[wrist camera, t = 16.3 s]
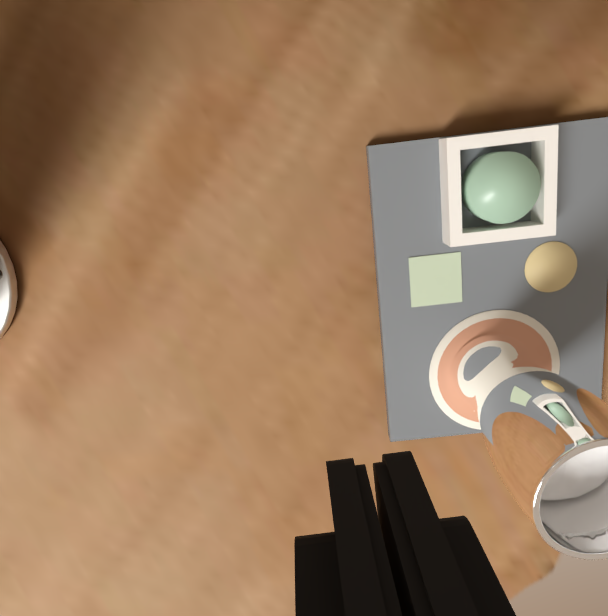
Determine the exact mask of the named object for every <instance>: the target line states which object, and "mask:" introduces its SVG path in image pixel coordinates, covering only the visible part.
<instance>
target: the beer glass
mask: <svg viewBox="0 0 608 616" xmlns="http://www.w3.org/2000/svg"><path fill="white" fill-rule="evenodd" d="M451 380H452V385H453V388H454V390H455V392H456V394H457V395H458V396H459V398H460V399H461V400H462V401H463V402H464V403H466V404H467V405H468V406H470V407H471V408H472V409H473V410H474V411H475V412H476V414H477V417H478V420H479V424H480V427H481V431H482V434H483V438H484V441H485V444H486V447H487V450H488V452H489V455H490V458H491V460H492V463H493V465H494V467H495V469H496V471H497V472H498V474H499V476H500V478H501V480H502V482H503V483H504V485H505V486H506V488H507V489H508V491H509V492H510V494H511V495H512V497H513V498H514V500H515V501H516V503H517V504H518V505H519V507H520V508H521V509H522V511H523V512H524V513H525V515H526V516H527V517H528V518H529V520H530V521H531V522H532V523H533V525H534V526H535V527H536V529H537V531H538V532H539V534H540V535H541V537H542V538H543V539H544V541H545V542H546V543H548V544H549V545H550V546H551V547H552V548H554V549H555V550H557V551H558V552H560V553H562V554H565V555H567V556H571V557H574V558H578V559H584V560H603V559H608V404H606V403H605V402H604V401H603V400H601V399H600V398H599V397H597V396H596V395H595V394H593V393H592V392H590V391H588V390H587V389H585V388H583V387H581V386H580V385H578V384H576V383H574V382H572V381H570V380H568V379H566V378H564V377H562V376H560V375H558V374H556V373H553V372H551V371H549V370H547V369H545V368H543V367H541V366H540V365H539V364H538V363H537V361H536V360H535V358H534V356H533V354H532V353H531V351H530V350H529V348H528V347H527V346H526V345H525V344H524V343H523V342H521V341H520V340H519V339H517V338H515V337H513V336H510V335H507V334H501V333H491V334H486V335H482V336H479V337H477V338H475V339H473V340H471V341H470V342H468V343H467V344H466V345H465V346H464V347H463V348H462V349H461V350H460V351H459V353H458V354H457V356H456V357H455V359H454V362H453V365H452V369H451Z"/></svg>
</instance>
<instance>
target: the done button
mask: <svg viewBox="0 0 608 616" xmlns="http://www.w3.org/2000/svg"><path fill="white" fill-rule="evenodd" d="M540 187H541V180H540V175H539V172H538V169H537V167H536V166H535V164H534V163H533V162H532V161H531V160H530V159H529V158H528V157H526V156H525V155H523V154H520V153H517V152H510V151H507V152H490V153H487V154H484V155H482V156H480V157H478V158H477V159H475V160H474V161H473V162H472V163H471V164H470V165H469V166H468V168H467V169H466V171H465V173H464V175H463V177H462V181H461V198H462V201H463V204H464V205H465V207H466V208H467V210H468V211H469V212H470V213H471V214H473V215H474V216H476V217H478V218H481V219H483V220H486V221H489V222H492V223H496V224H506V223H511V222H514V221H516V220H518V219H520V218H522V217H523V216H525V215H526V214H527V213H528V212H529V211H530V210H531V209H532V208H533V206H534V205H535V203H536V201H537V199H538V196H539V193H540Z"/></svg>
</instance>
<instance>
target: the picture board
mask: <svg viewBox="0 0 608 616" xmlns="http://www.w3.org/2000/svg"><path fill="white" fill-rule="evenodd" d="M366 150H367V163H368V176H369V188H370V201H371V214H372V227H373V240H374V253H375V266H376V279H377V291H378V304H379V317H380V330H381V343H382V356H383V369H384V382H385V394H386V407H387V420H388V433H389V438H390V441H391V442H393V441H403V440H413V439H423V438H433V437H443V436H453V435H463V434H473V433H482V431H481V427H480V424H479V420H478V417H477V414H476V412H475V411H474V410H473V409H472V408H471V407H470V406H468V405H467V404H466V403H464V402H463V401H462V400H461V399H460V398H459V396H458V395H457V394H456V392H455V390H454V388H453V385H452V380H451V369H452V365H453V362H454V359H455V357H456V356H457V354H458V353H459V351H460V350H461V349H462V348H463V347H464V346H465V345H466V344H467V343H468V342H470V341H471V340H473V339H475V338H477V337H479V336H482V335H486V334H491V333H501V334H507V335H510V336H513V337H515V338H517V339H519V340H520V341H521V342H523V343H524V344H525V345H526V346H527V347H528V348H529V350H530V351H531V353H532V354H533V356H534V358H535V360H536V361H537V363H538V364H539V365H540V366H541V367H543V368H545V369H547V370H549V371H551V372H553V373H556V374H558V375H560V376H562V377H564V378H566V379H568V380H570V381H572V382H574V383H576V384H578V385H580V386H581V387H583V388H585V389H587V390H588V391H590V392H592V393H593V394H595V395H596V396H597V397H599V398H600V399H601V394H602V376H603V357H604V338H605V319H606V301H607V282H608V117H604V118H596V119H587V120H579V121H571V122H563V123H554V124H546V125H538V126H530V127H521V128H513V129H505V130H496V131H488V132H480V133H472V134H463V135H455V136H447V137H439V138H430V139H422V140H414V141H405V142H397V143H389V144H381V145H372V146H366ZM507 151H510V152H517V153H520V154H523V155H525V156H526V157H528V158H529V159H530V160H531V161H532V162H533V163H534V164H535V166H536V167H537V169H538V172H539V175H540V180H541V187H540V193H539V196H538V199H537V201H536V203H535V205H534V206H533V208H532V209H531V210H530V211H529V212H528V213H527V214H526V215H525V216H523V217H522V218H520V219H518V220H516V221H514V222H511V223H506V224H496V223H492V222H489V221H486V220H483V219H481V218H478V217H476V216H474V215H473V214H471V213H470V212H469V211H468V210H467V208H466V207H465V205H464V204H463V201H462V198H461V181H462V177H463V175H464V173H465V171H466V169H467V168H468V166H469V165H470V164H471V163H472V162H473V161H474V160H475V159H477V158H478V157H480V156H482V155H484V154H487V153H490V152H507Z"/></svg>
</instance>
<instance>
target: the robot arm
mask: <svg viewBox="0 0 608 616" xmlns="http://www.w3.org/2000/svg"><path fill="white" fill-rule="evenodd" d="M1 271H2V272H1ZM17 298H18V295H17V280H16V275H15V271H14V267H13V264H12V262H11V259H10V257H9V255H8V252H7V250H6V248H5V247H4V245H3V244H2V242H1V241H0V339H1V338H2V336H3V335H4V333H5V332H6V331H7V329H8V328H9V326H10V324H11V321H12V319H13V316H14V314H15V310H16V304H17ZM326 465H327V473H328V481H329V489H330V497H331V506H332V514H333V522H334V530H335V532H330V533H322V534H313V535H305V536H297V537H295V605H296V616H516V615H515V613H514V611H513V609H512V607H511V605H510V603H509V601H508V599H507V596H506V594H505V592H504V590H503V588H502V586H501V584H500V582H499V580H498V578H497V576H496V574H495V572H494V570H493V568H492V566H491V564H490V562H489V560H488V558H487V556H486V554H485V552H484V550H483V548H482V546H481V544H480V542H479V540H478V538H477V536H476V534H475V532H474V530H473V528H472V526H471V524H470V522H469V521H468V519H467V518H466V517H465V516H458V517H450V518H442V519H439V518H438V516H437V513H436V511H435V508H434V506H433V504H432V501H431V499H430V496H429V494H428V491H427V489H426V487H425V484H424V482H423V479H422V477H421V475H420V472H419V470H418V467H417V465H416V462H415V460H414V458H413V455H412V453H411V452H410V451H405V452H397V453H389V454H383V455H382V462H379V463H373V471H374V481H375V491H376V501H377V511H378V515H377V511H376V507H375V503H374V499H373V495H372V491H371V487H370V483H369V479H368V475H367V471H366V467H365V464H363V465H354V460H353V458H350V459H342V460H334V461H326Z"/></svg>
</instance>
